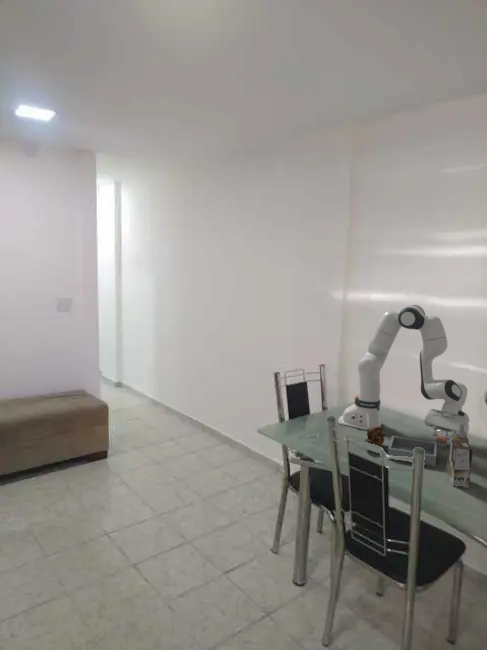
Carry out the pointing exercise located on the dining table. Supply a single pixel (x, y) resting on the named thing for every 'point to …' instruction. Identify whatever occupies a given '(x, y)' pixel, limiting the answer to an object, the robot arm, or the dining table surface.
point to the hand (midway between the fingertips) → (441, 437)
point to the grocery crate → (406, 446)
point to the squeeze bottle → (460, 435)
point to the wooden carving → (375, 436)
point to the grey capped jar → (441, 437)
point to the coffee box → (460, 463)
